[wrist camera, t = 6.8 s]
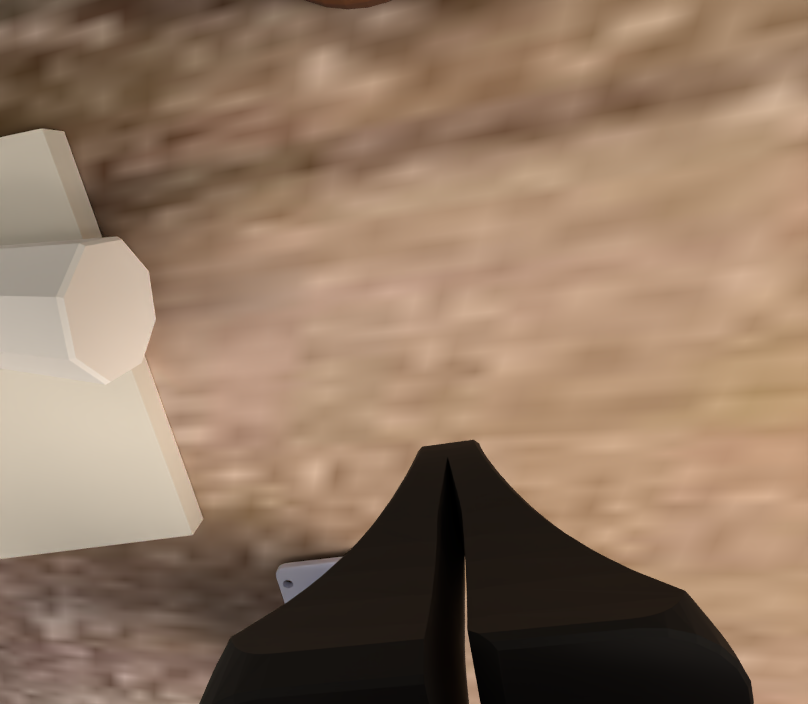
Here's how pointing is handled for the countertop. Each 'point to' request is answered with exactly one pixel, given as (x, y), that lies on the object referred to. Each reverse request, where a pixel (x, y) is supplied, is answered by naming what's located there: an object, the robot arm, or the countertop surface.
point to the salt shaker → (74, 309)
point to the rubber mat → (77, 402)
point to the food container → (348, 3)
